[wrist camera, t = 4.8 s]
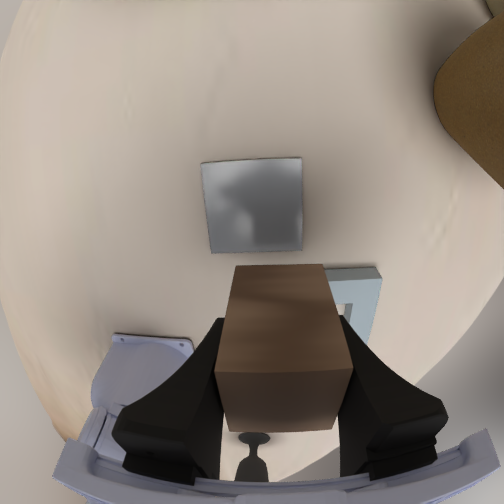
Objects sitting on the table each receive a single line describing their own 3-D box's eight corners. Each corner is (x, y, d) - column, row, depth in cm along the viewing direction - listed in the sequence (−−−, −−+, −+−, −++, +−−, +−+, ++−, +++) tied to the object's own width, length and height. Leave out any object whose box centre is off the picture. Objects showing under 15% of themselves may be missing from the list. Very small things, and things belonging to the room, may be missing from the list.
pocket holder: (262, 355, 27) (262, 368, 26) (257, 271, 23) (257, 283, 21) (357, 350, 27) (361, 362, 25) (375, 267, 22) (382, 278, 20)
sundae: (283, 433, 35) (283, 520, 22) (264, 448, 38) (261, 524, 25) (242, 425, 35) (234, 517, 21) (227, 440, 38) (217, 520, 24)
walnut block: (241, 330, 17) (229, 431, 10) (235, 265, 15) (214, 371, 8) (315, 328, 16) (331, 429, 10) (322, 263, 14) (353, 367, 8)
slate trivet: (212, 251, 22) (211, 253, 22) (201, 162, 19) (200, 163, 19) (301, 248, 22) (302, 250, 21) (300, 157, 19) (301, 158, 18)
